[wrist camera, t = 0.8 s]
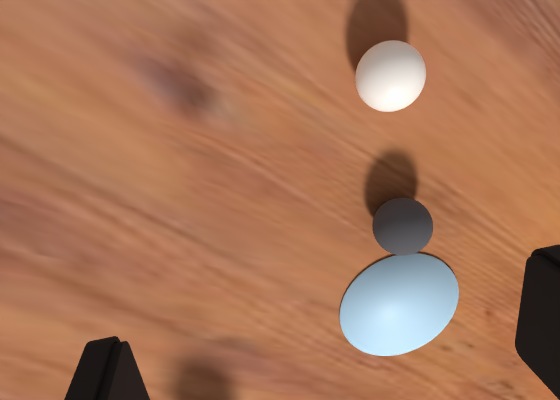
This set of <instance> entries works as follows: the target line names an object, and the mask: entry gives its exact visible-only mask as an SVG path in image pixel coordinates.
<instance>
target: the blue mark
mask: <svg viewBox="0 0 560 400" xmlns="http://www.w3.org/2000/svg"><path fill="white" fill-rule="evenodd" d="M458 297H459V289H458V283H457V280H456V278H455V275H454V274H453V272H452V271H451V269H450V268H449V267H448V266H447V265H446V264H445V263H443V262H442V261H441V260H439V259H437V258H435V257H433V256H430V255H426V254H421V253H414V254H411V255H404V256H403V255H394V256H391V257H387V258H385V259H383V260H380V261H378V262H376V263H375V264H373V265H371V266H370V267H368V268H367V269H366V270H364V271H363V272H362V273H361V274H360V275H359V276H357V278H356V279H355V280H354V281H353V282H352V283H351V285H350V286H349V288H348V289H347V291H346V293H345V295H344V297H343V300H342V302H341V307H340V315H339V317H340V324H341V328H342V331H343V333H344V335H345V337H346V338H347V339H348V341H349V342H350V343H351V344H352V345H353V346H355V347H356V348H357V349H359V350H361V351H363V352H366V353H369V354H373V355H379V356H392V355H399V354H403V353H407V352H410V351H413V350H415V349H417V348H419V347H421V346H423V345H425V344H426V343H428V342H429V341H431V340H432V339H433V338H435V337H436V336H437V335H438V334H439V333H440V332H441V331H442V330H443V329H444V328H445V327H446V325H447V324H448V323H449V321H450V320H451V318H452V316H453V314H454V312H455V309H456V307H457V303H458Z"/></svg>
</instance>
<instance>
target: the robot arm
mask: <svg viewBox="0 0 560 400" xmlns="http://www.w3.org/2000/svg"><path fill="white" fill-rule="evenodd" d="M515 347H516V350H517V353H518V354H519V356H520V357H521V359H522V360H523V361H524V362H525V363H526V364H527V365H528V366H529V367H530V369H531V370H532V371H533V372H534V373H535V374H536V375H537V376H538V377H539V378H540V379H541V380H542V382H543V383H544V384H545V385H546V386H547V387H548V388H549V389H550V390H551V391H552V392H553V394H554V395H555V396H556V397H557V398H558V399H559V400H560V245H554V246H549V247H544V248H540V249H536V250H534V251H533V252H532V254H531V257H529V258H528V259H527V262H526V267H525V274H524V281H523V289H522V296H521V303H520V310H519V317H518V324H517V331H516V338H515ZM64 400H150V399H149V396H148V393H147V391H146V388H145V385H144V383H143V380H142V377H141V375H140V372H139V369H138V367H137V364H136V361H135V359H134V356H133V353H132V351H131V348H130V345H129V343H128V342H127V341H123V342H120V340H119V338H118V337H116V336H113V337H109V338H104V339H99V340H94V341H89V342H88V343H87V344H86V346H85V348H84V351H83V353H82V356H81V358H80V361H79V364H78V366H77V369H76V371H75V374H74V376H73V379H72V381H71V384H70V387H69V389H68V392H67V394H66V397H65V399H64Z"/></svg>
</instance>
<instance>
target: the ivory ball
mask: <svg viewBox="0 0 560 400" xmlns="http://www.w3.org/2000/svg"><path fill="white" fill-rule="evenodd" d="M425 79H426V68H425V63H424V60H423V58H422V56H421V55H420V53H419V52H418V51H417V50H416V49H415V48H414V47H413V46H411V45H410V44H408V43H405V42H402V41H397V40H389V41H384V42H381V43H379V44H376V45H375V46H373V47H371V48H370V49H369V50H368V51H367V52H366V53H365V54H364V55H363V57H362V58H361V60H360V61H359V64H358V66H357V69H356V74H355V83H356V88H357V91H358V93H359V95H360V97H361V98H362V100H363V101H364V102H365V103H366V104H367V105H369V106H370V107H372V108H374V109H376V110H379V111H385V112H391V111H397V110H400V109H403V108H405V107H407V106H408V105H410V104H411V103H412V102H413V101H414V100H415V99H416V98H417V97H418V96H419V94H420V93H421V91H422V89H423V86H424V83H425Z"/></svg>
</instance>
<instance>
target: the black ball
mask: <svg viewBox="0 0 560 400" xmlns="http://www.w3.org/2000/svg"><path fill="white" fill-rule="evenodd" d="M372 226H373V233H374V236H375V239H376V240H377V242H378V243H379V245H380V246H381V247H382V248H383V249H385V250H386V251H388V252H390V253H392V254H395V255H403V256H404V255H411V254H414V253H417V252H418V251H420V250H422V249H423V248H424V247H425V246H426V245H427V244H428V242H429V240H430V238H431V236H432V232H433V222H432V218H431V215H430V213H429V212H428V210H427V209H426V208H425V207H424V206H423V205H422V204H421V203H419V202H418V201H416V200H413V199H411V198H405V197H400V198H394V199H391V200H389V201H387V202H385V203H384V204H382V205H381V206H380V207H379V209H378V210H377V211H376V213H375V215H374V218H373V224H372Z"/></svg>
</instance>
